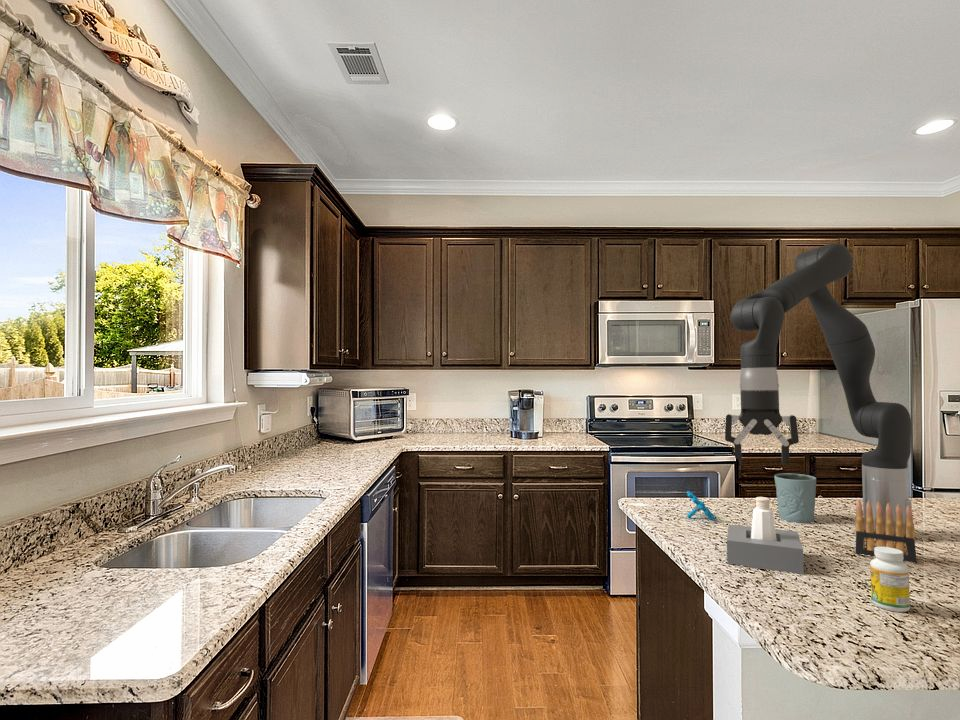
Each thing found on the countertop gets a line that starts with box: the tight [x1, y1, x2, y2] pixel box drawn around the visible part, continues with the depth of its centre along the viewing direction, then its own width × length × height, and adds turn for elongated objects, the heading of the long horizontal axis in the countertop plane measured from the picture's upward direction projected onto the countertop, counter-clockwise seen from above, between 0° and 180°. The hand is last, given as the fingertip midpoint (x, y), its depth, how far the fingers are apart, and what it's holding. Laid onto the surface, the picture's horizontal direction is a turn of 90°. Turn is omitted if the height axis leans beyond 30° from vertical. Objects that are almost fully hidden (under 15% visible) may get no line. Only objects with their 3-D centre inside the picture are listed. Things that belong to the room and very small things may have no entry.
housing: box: [726, 523, 805, 575], centre depth 117 cm, size 14×14×5 cm
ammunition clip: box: [854, 499, 918, 564], centre depth 119 cm, size 11×2×12 cm, turn 55°
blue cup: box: [773, 472, 817, 524], centre depth 150 cm, size 10×10×12 cm
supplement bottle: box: [869, 547, 911, 613], centre depth 93 cm, size 5×5×10 cm
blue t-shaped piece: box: [685, 490, 717, 521], centre depth 152 cm, size 11×6×10 cm
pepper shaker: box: [751, 496, 777, 541], centre depth 118 cm, size 5×5×11 cm
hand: (761, 462), depth 118 cm, fingers open, 8 cm apart
